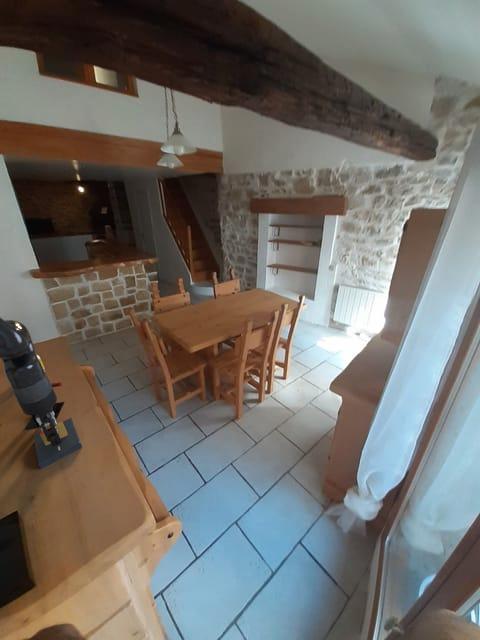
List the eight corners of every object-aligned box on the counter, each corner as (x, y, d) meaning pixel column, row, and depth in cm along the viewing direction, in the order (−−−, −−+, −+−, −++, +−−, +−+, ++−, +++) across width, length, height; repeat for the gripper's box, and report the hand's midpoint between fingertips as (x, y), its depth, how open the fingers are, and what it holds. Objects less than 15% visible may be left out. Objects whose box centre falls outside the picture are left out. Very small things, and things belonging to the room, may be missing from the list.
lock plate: (83, 449, 75) (80, 442, 73) (42, 471, 69) (38, 463, 67) (74, 424, 82) (71, 417, 81) (36, 441, 77) (32, 434, 75)
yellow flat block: (66, 431, 76) (61, 420, 74) (67, 435, 75) (62, 424, 73) (44, 442, 73) (39, 431, 71) (45, 446, 72) (39, 434, 70)
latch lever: (46, 388, 91) (45, 382, 91) (62, 386, 92) (61, 380, 92) (25, 401, 78) (24, 393, 78) (43, 398, 80) (42, 391, 79)
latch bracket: (39, 408, 88) (27, 382, 83) (65, 404, 90) (54, 378, 85) (26, 431, 80) (11, 404, 74) (54, 426, 81) (42, 399, 76)
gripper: (14, 384, 69) (35, 426, 76) (19, 416, 59) (42, 459, 67) (47, 373, 73) (64, 413, 80) (56, 400, 64) (74, 443, 71)
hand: (54, 434), depth 74 cm, fingers open, 8 cm apart
